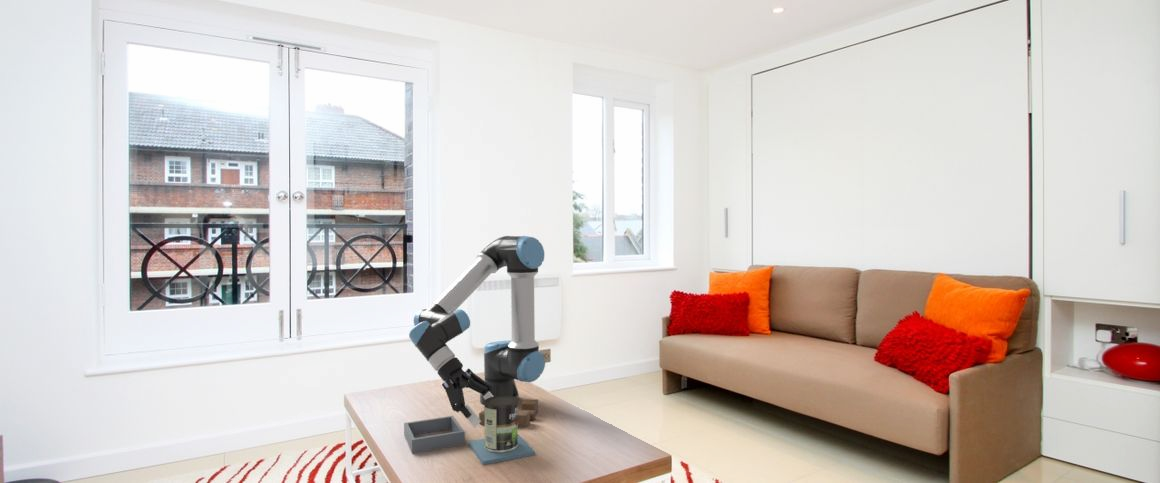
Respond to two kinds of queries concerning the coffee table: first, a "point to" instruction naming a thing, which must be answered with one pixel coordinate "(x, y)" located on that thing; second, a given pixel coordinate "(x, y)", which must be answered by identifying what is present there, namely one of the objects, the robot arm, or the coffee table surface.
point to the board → (493, 457)
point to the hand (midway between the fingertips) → (488, 417)
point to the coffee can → (501, 423)
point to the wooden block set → (522, 413)
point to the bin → (436, 440)
